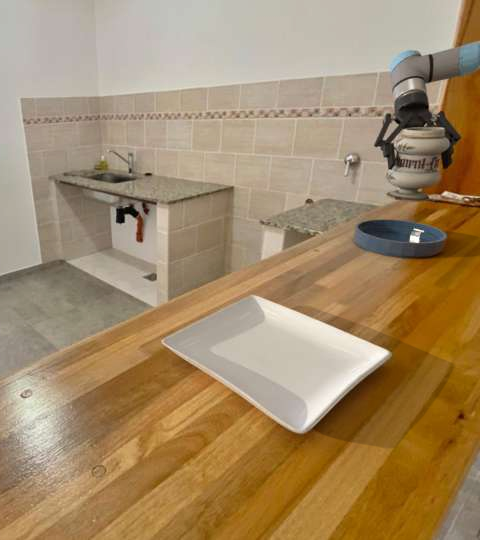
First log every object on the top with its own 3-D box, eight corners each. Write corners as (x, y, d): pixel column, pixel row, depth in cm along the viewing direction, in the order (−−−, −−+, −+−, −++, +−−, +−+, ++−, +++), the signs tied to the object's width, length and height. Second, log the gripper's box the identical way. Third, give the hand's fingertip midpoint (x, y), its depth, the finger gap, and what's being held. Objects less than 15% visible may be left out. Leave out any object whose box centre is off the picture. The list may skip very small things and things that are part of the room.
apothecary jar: (374, 198, 106) (390, 130, 98) (388, 190, 113) (404, 125, 105) (427, 205, 97) (449, 131, 90) (439, 196, 105) (460, 126, 97)
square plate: (299, 455, 49) (303, 433, 48) (158, 356, 70) (158, 338, 68) (390, 368, 63) (396, 348, 62) (251, 306, 84) (252, 291, 82)
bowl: (439, 238, 113) (444, 224, 111) (444, 264, 97) (449, 248, 95) (356, 229, 124) (359, 216, 123) (348, 251, 109) (351, 236, 107)
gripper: (453, 108, 107) (465, 174, 100) (357, 112, 113) (362, 175, 106) (470, 87, 100) (484, 156, 93) (366, 93, 106) (372, 158, 99)
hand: (419, 166), depth 99 cm, fingers closed on apothecary jar, 12 cm apart
